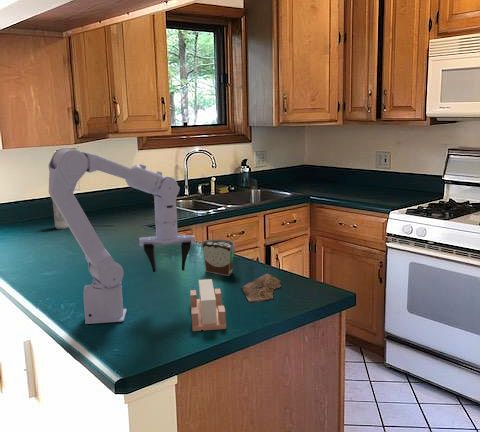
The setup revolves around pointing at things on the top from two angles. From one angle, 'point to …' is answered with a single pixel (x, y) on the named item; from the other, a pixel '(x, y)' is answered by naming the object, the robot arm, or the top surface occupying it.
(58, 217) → the energy drink can
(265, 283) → the wooden fragment
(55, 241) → the top surface
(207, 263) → the food container
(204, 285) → the strip
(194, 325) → the rack
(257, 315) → the top surface
